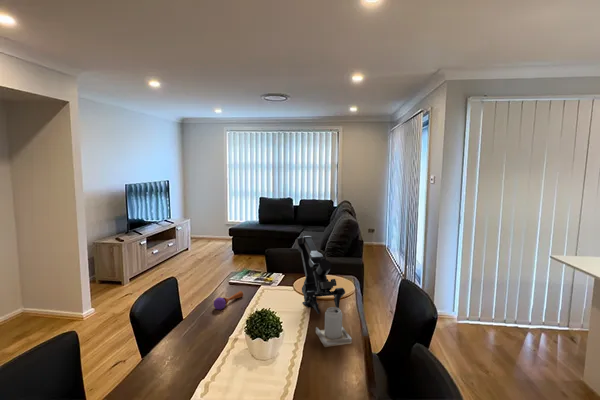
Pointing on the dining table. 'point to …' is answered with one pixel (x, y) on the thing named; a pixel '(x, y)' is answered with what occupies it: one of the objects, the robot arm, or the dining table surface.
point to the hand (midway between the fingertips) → (328, 312)
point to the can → (333, 323)
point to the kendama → (226, 300)
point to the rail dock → (329, 342)
